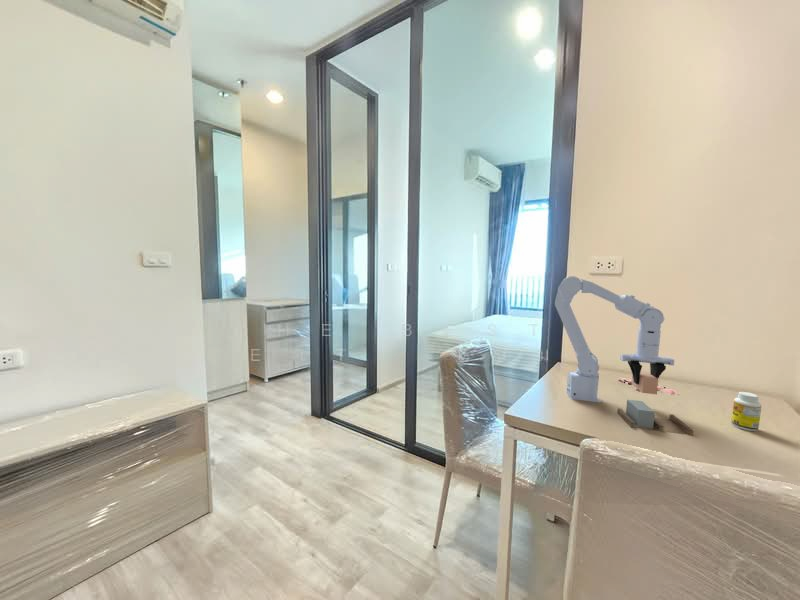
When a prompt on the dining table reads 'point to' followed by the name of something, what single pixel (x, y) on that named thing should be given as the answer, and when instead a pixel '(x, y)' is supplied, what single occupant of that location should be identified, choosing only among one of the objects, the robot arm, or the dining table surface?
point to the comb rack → (661, 424)
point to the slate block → (640, 413)
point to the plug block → (646, 383)
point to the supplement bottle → (746, 411)
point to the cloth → (657, 388)
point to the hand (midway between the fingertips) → (644, 384)
